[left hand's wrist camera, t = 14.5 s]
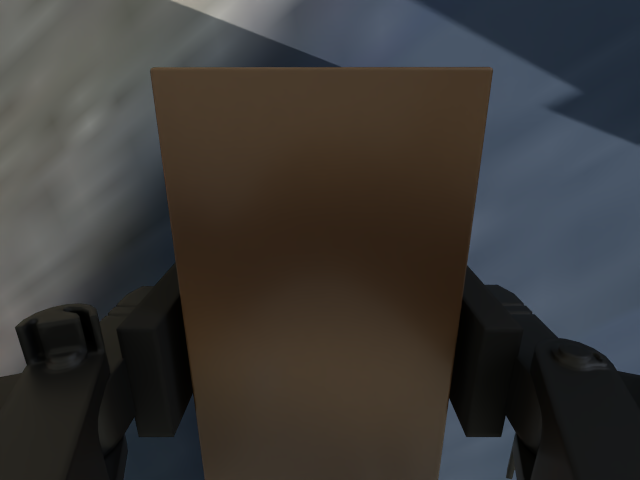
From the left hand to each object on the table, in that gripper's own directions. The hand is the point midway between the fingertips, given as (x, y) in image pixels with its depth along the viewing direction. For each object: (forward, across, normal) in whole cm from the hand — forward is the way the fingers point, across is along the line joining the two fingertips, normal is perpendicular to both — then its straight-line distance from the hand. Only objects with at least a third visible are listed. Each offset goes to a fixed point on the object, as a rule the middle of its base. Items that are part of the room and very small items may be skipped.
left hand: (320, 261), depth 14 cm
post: (+1, 0, -22) cm, 22 cm away
